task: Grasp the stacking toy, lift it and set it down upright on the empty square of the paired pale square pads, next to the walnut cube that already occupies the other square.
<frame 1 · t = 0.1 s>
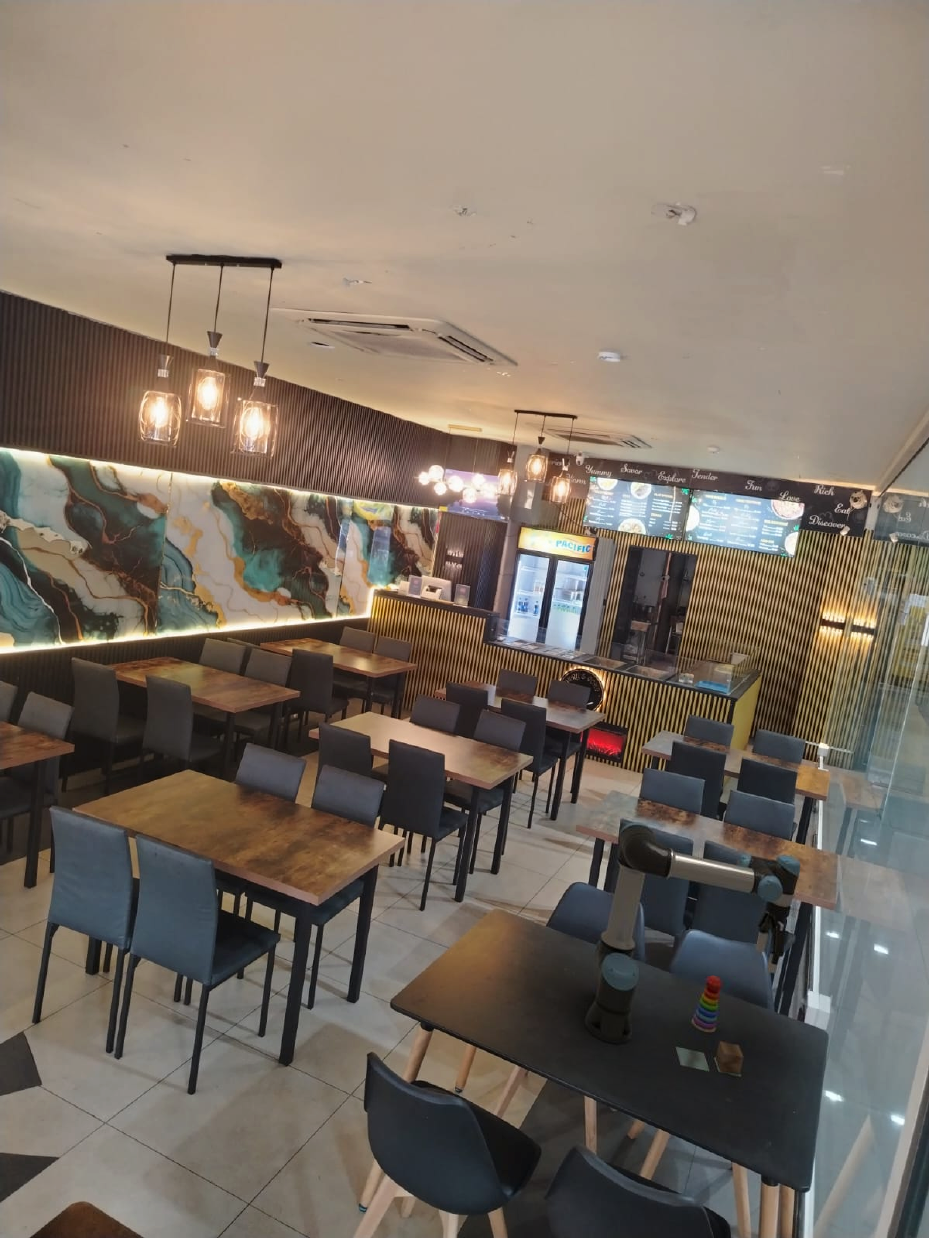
hand: (765, 961, 269), 28 cm above the table, fingers open, 13 cm apart
stacking toy: (702, 1028, 273), on the table
walnut cube: (727, 1066, 252), point 1 cm above the table, touching paired pale square pads
paired pale square pads: (704, 1065, 252), on the table
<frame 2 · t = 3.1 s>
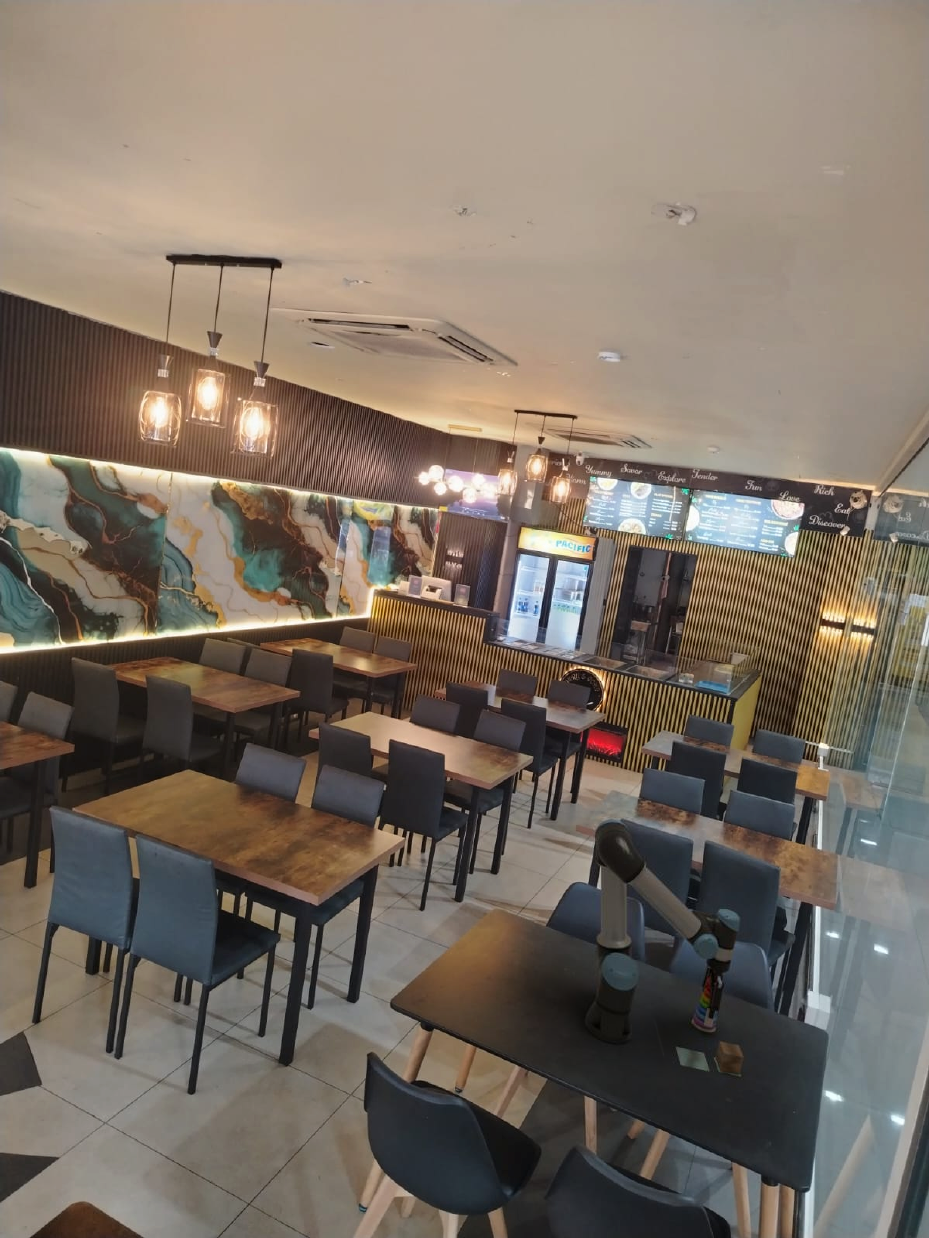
hand: (705, 1018, 272), 4 cm above the table, fingers closed on stacking toy, 8 cm apart
stacking toy: (702, 1028, 273), on the table, touching gripper
everything else where it was.
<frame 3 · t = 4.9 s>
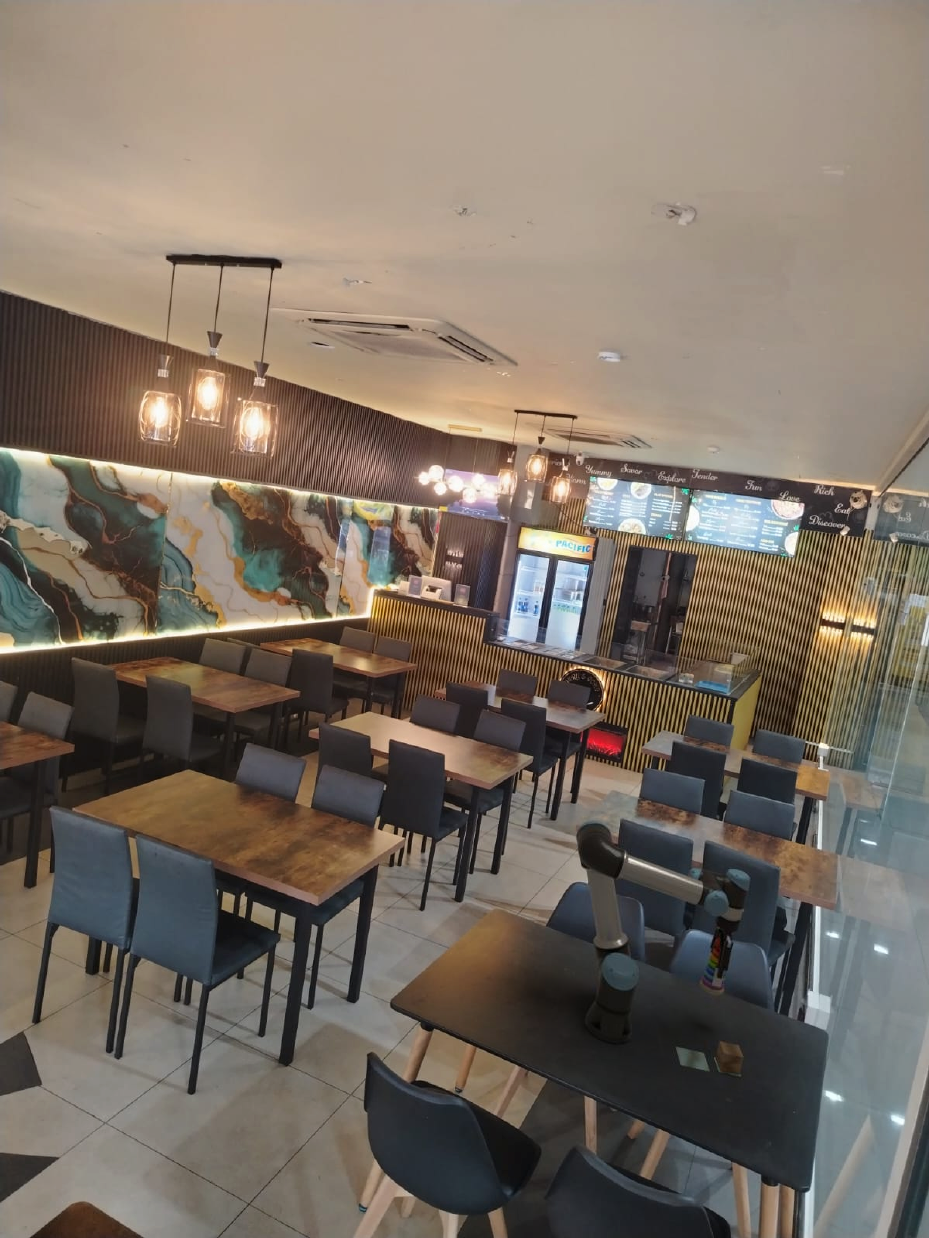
hand: (713, 978, 271), 18 cm above the table, fingers closed on stacking toy, 7 cm apart
stacking toy: (711, 989, 271), point 14 cm above the table, touching gripper
everything else where it was.
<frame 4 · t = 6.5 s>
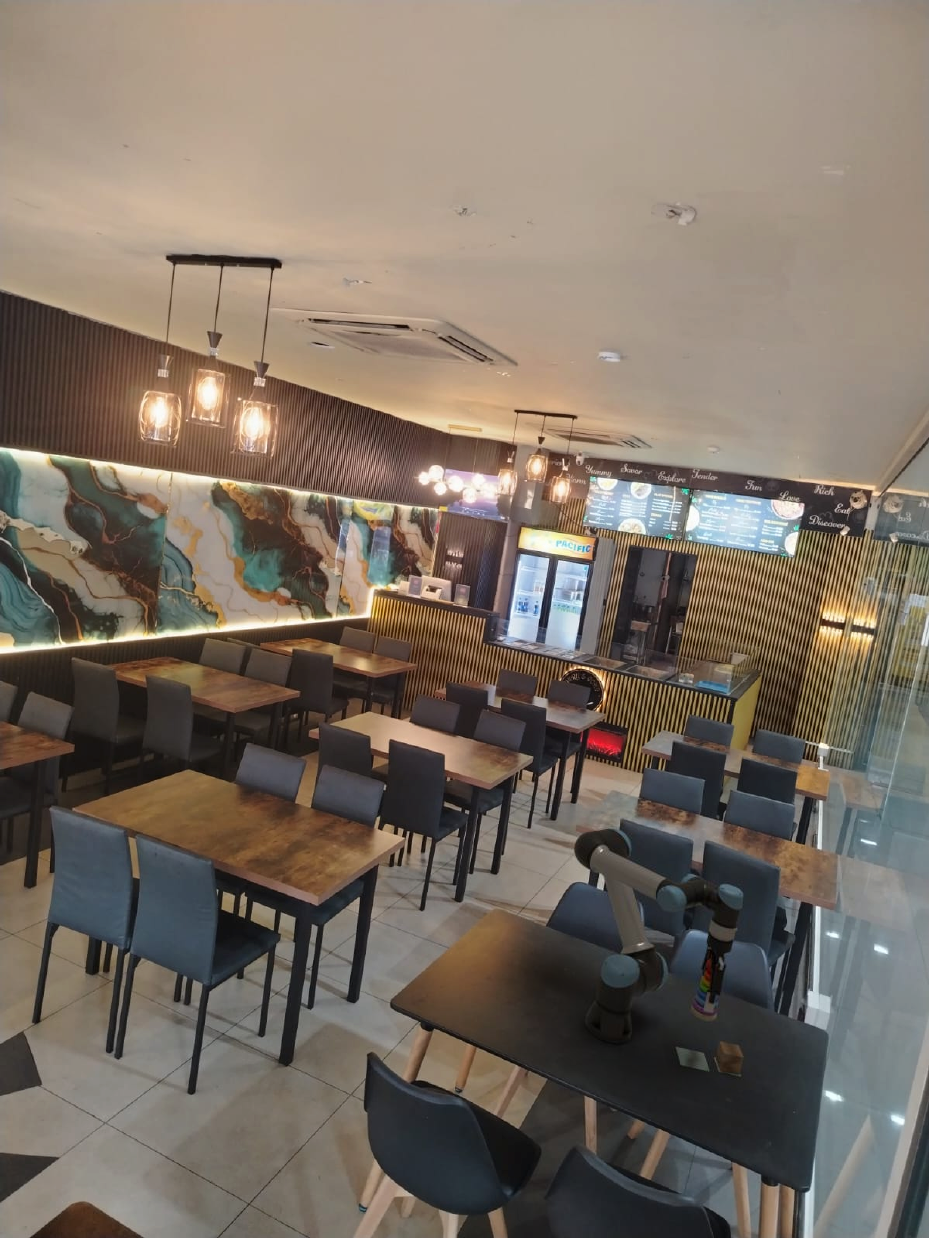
hand: (705, 1003, 250), 20 cm above the table, fingers closed on stacking toy, 7 cm apart
stacking toy: (702, 1014, 251), point 16 cm above the table, touching gripper
everything else where it was.
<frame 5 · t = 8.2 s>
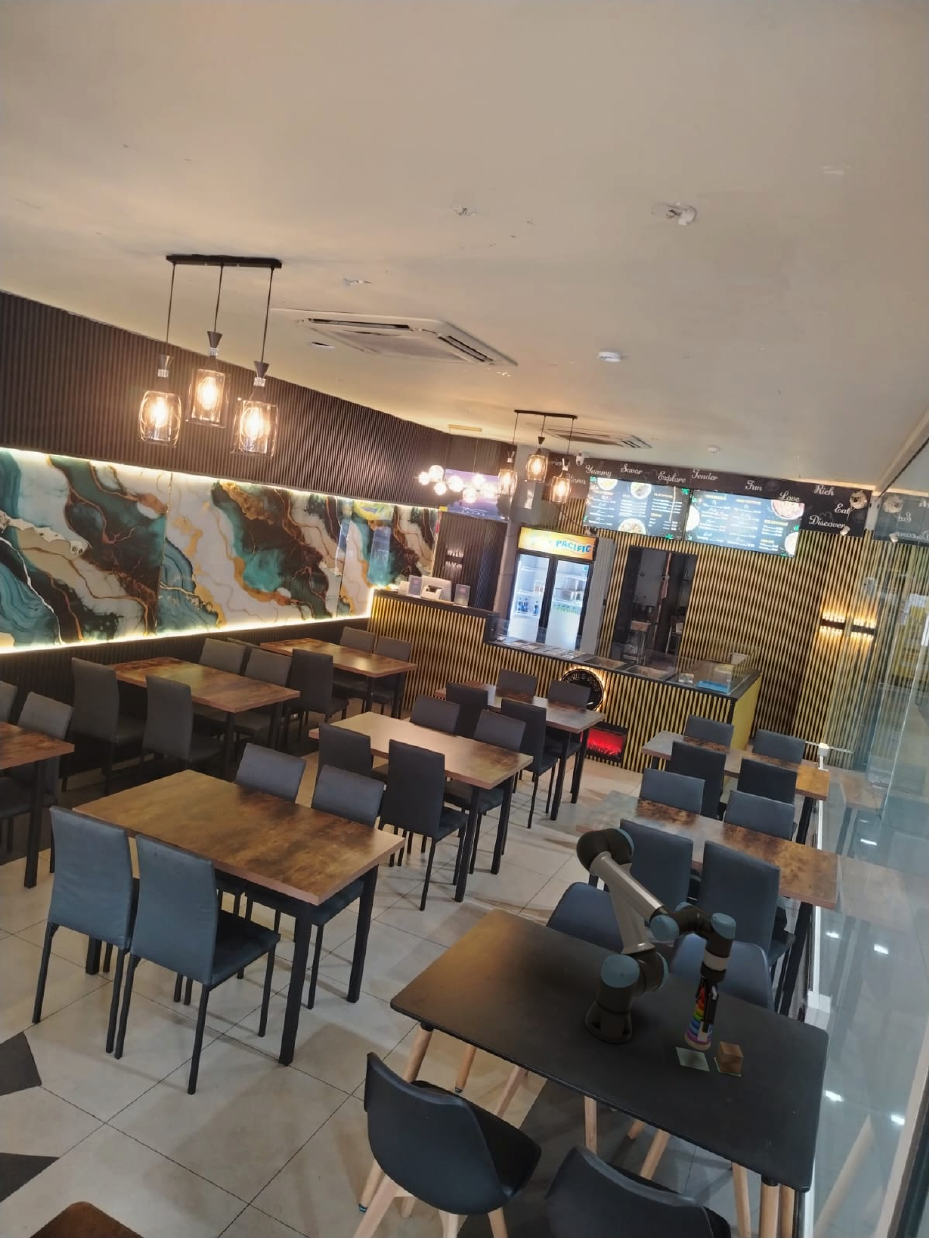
hand: (699, 1032, 251), 10 cm above the table, fingers closed on stacking toy, 7 cm apart
stacking toy: (696, 1043, 252), point 7 cm above the table, touching gripper
everything else where it was.
when the fingers open (6 cm above the table, at t = 9.5 s): stacking toy stays where it is, resting on paired pale square pads.
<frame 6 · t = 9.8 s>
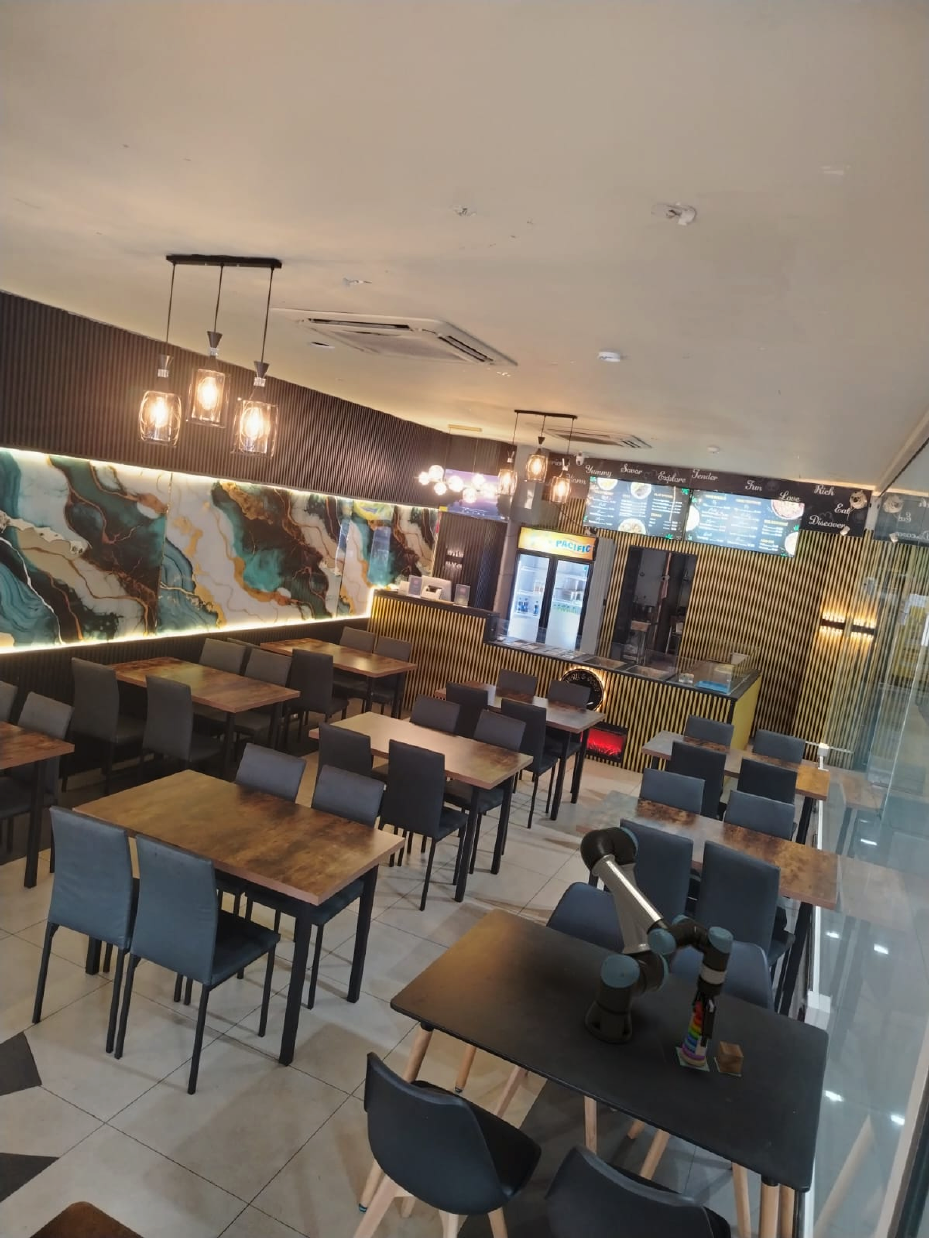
hand: (696, 1042, 252), 7 cm above the table, fingers open, 10 cm apart
stacking toy: (692, 1059, 252), point 1 cm above the table, touching paired pale square pads
everything else where it was.
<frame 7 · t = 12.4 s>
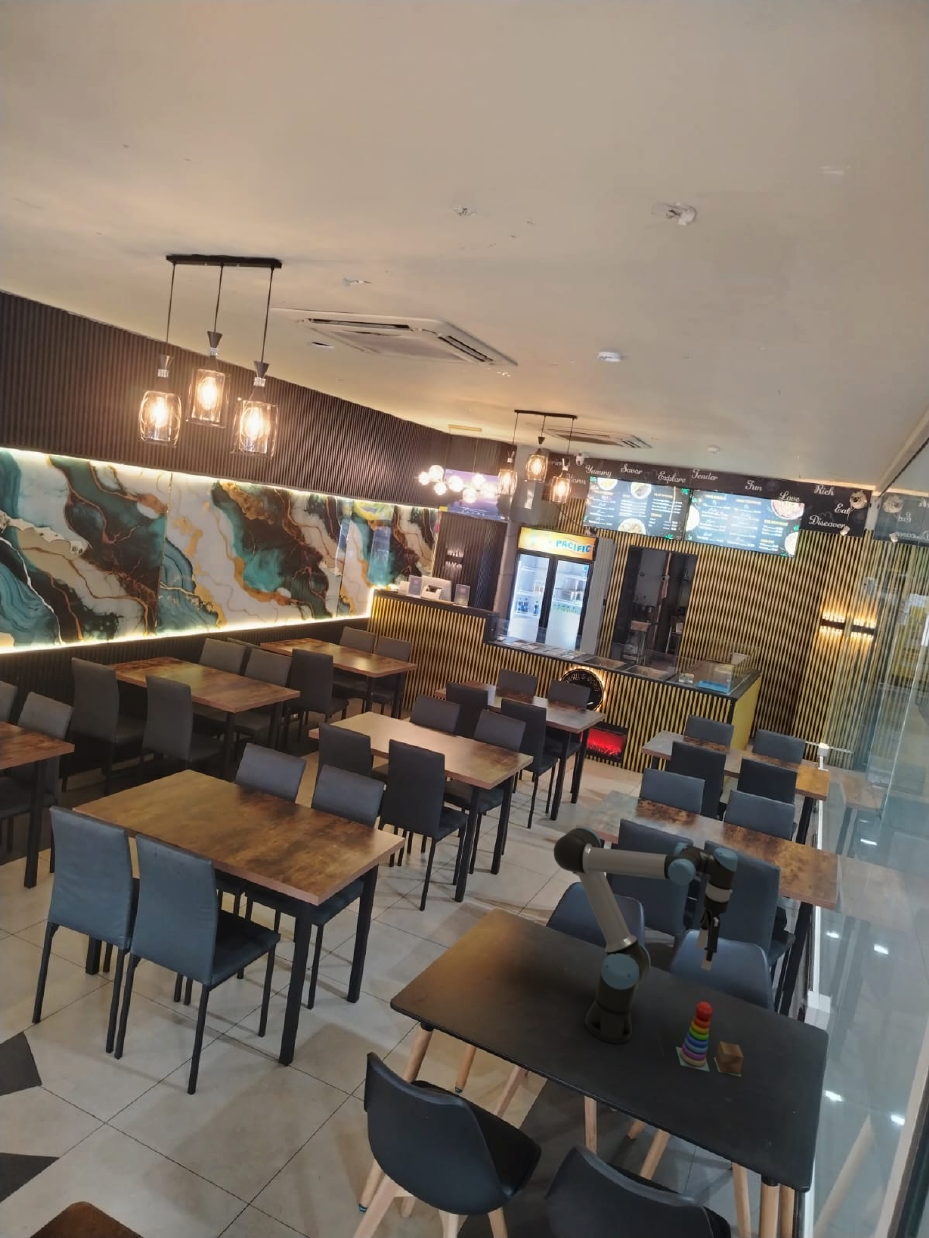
hand: (702, 958, 261), 29 cm above the table, fingers open, 13 cm apart
nothing on the table moved.
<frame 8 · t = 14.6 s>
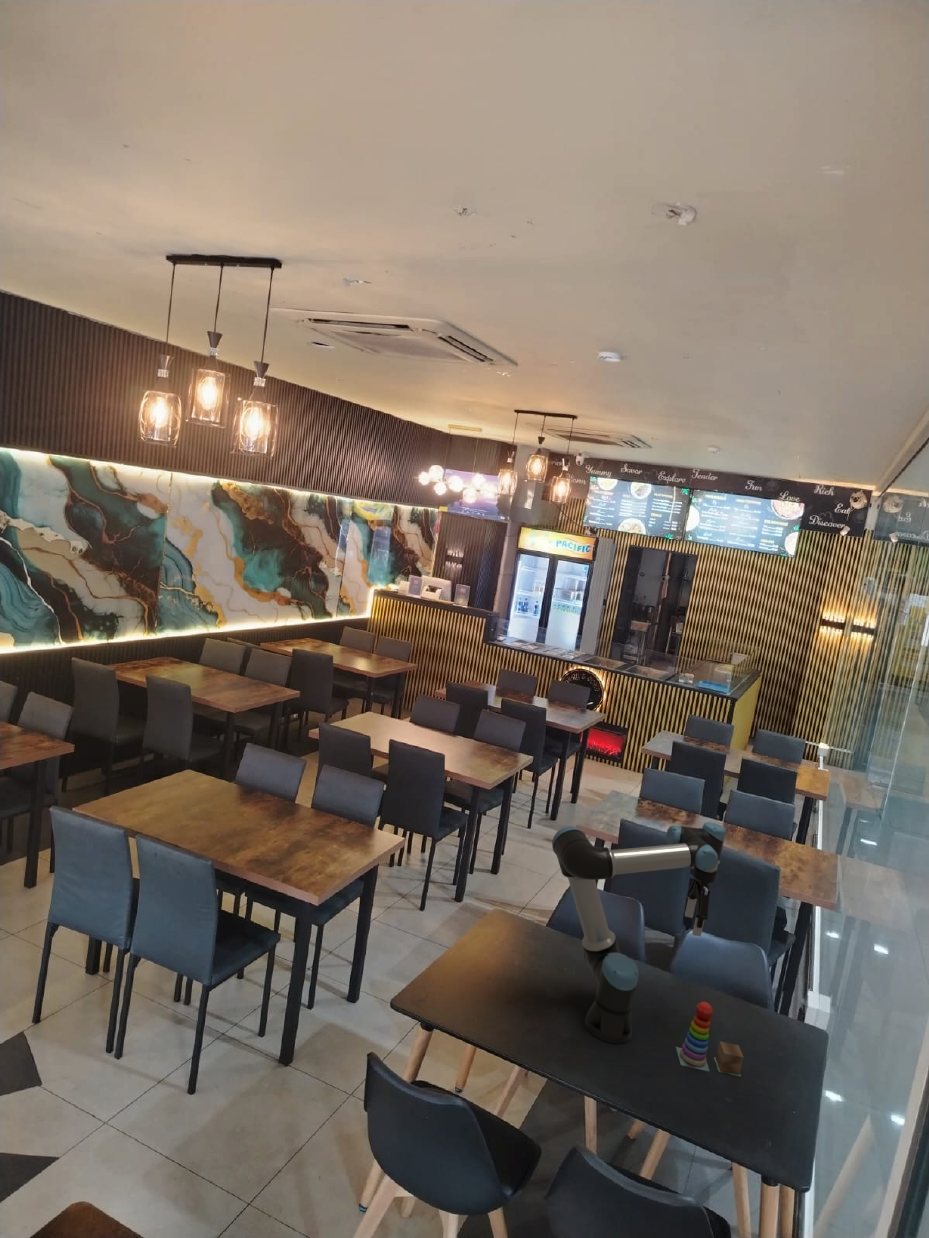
hand: (692, 925, 277), 32 cm above the table, fingers open, 13 cm apart
nothing on the table moved.
at the end: stacking toy inside the target area (0.0 cm from its centre), point 1.1 cm above the table; stacking toy tilted 0°; walnut cube moved 0.0 cm from its start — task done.
